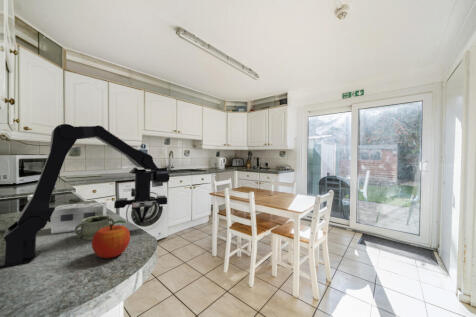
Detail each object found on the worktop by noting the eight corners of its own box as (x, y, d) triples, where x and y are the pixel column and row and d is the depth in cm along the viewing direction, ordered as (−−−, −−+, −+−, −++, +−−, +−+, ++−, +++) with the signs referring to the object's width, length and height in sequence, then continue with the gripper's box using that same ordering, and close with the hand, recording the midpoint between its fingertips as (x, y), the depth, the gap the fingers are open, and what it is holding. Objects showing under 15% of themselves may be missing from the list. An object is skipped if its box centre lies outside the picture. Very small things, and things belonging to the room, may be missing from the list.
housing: (102, 227, 78) (103, 206, 78) (50, 234, 70) (51, 209, 70) (106, 221, 85) (106, 202, 85) (59, 227, 78) (60, 205, 78)
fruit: (97, 249, 59) (98, 217, 59) (132, 245, 62) (133, 215, 62) (85, 266, 50) (86, 228, 50) (126, 260, 53) (127, 224, 53)
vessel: (110, 228, 77) (110, 213, 77) (117, 234, 72) (118, 217, 72) (72, 237, 68) (72, 219, 68) (76, 244, 62) (77, 225, 62)
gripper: (164, 181, 88) (164, 214, 88) (118, 183, 80) (117, 219, 79) (167, 184, 78) (166, 221, 78) (114, 186, 70) (113, 228, 69)
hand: (141, 222), depth 76 cm, fingers closed
